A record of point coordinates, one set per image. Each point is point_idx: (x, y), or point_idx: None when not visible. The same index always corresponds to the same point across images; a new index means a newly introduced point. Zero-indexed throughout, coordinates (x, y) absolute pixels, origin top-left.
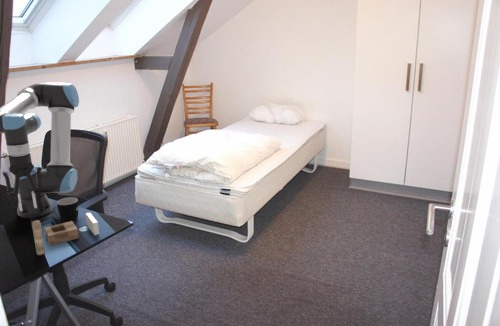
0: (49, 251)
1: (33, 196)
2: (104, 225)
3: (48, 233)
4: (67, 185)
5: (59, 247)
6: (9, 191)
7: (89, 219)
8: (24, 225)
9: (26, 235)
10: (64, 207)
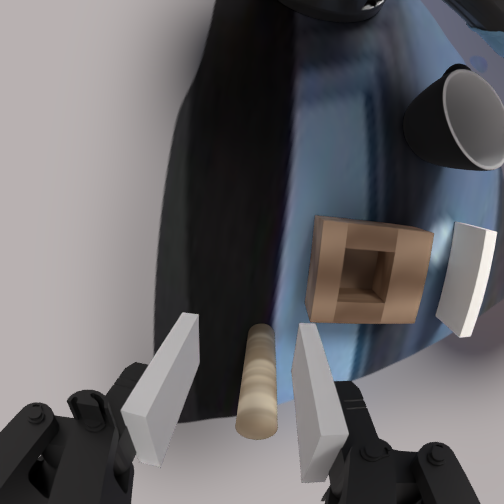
0: (288, 340)
1: (303, 455)
2: None
3: (317, 297)
4: None
5: (324, 333)
6: (45, 485)
7: (471, 285)
8: (265, 54)
9: (251, 150)
10: (456, 156)
